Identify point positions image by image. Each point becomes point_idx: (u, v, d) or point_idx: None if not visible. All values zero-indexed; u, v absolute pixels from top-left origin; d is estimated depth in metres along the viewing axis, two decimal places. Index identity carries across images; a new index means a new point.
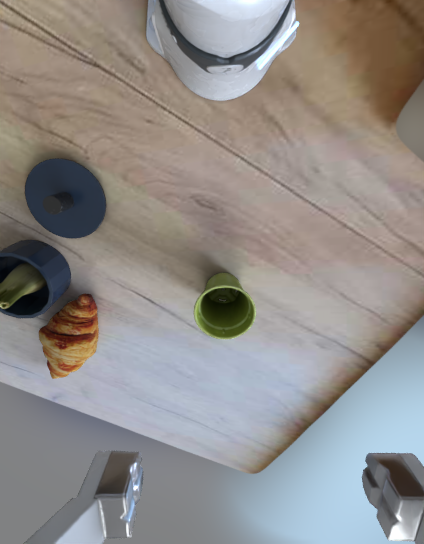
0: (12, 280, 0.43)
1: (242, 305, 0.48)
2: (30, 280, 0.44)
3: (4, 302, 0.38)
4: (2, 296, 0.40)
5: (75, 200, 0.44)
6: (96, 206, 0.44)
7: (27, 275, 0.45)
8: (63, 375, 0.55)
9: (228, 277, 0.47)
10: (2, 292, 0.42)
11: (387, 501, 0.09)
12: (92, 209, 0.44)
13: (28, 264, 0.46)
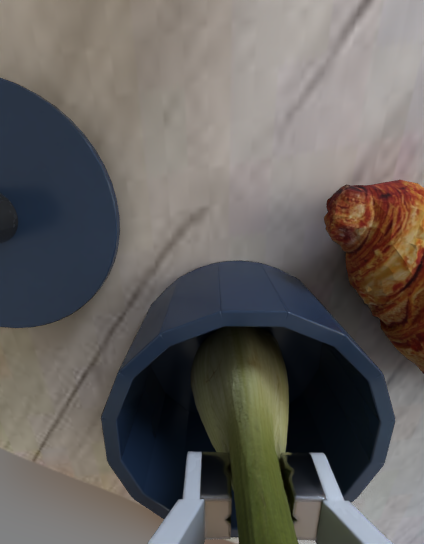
0: (218, 443, 0.11)
1: None
2: (226, 386, 0.11)
3: None
4: None
5: None
6: None
7: (212, 385, 0.12)
8: None
9: None
10: None
11: (289, 500, 0.09)
12: (3, 126, 0.12)
13: (192, 370, 0.14)
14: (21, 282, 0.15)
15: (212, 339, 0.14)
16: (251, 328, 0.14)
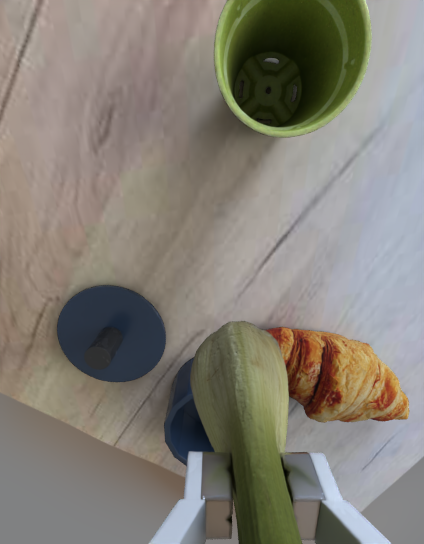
0: (218, 443, 0.11)
1: (298, 28, 0.21)
2: (229, 385, 0.11)
3: None
4: None
5: (109, 324, 0.31)
6: (116, 299, 0.30)
7: (213, 383, 0.12)
8: (404, 403, 0.31)
9: (232, 71, 0.23)
10: None
11: None
12: (120, 305, 0.31)
13: (193, 368, 0.14)
14: (121, 363, 0.33)
15: (214, 338, 0.14)
16: (253, 329, 0.14)
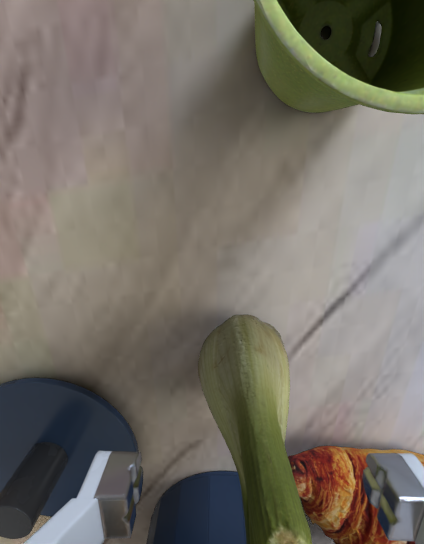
0: (224, 423, 0.12)
1: None
2: (235, 369, 0.12)
3: None
4: None
5: (44, 438, 0.19)
6: (52, 401, 0.18)
7: (220, 369, 0.13)
8: None
9: None
10: None
11: (387, 501, 0.09)
12: (61, 410, 0.18)
13: (200, 357, 0.15)
14: (68, 492, 0.20)
15: (220, 329, 0.15)
16: (257, 321, 0.15)
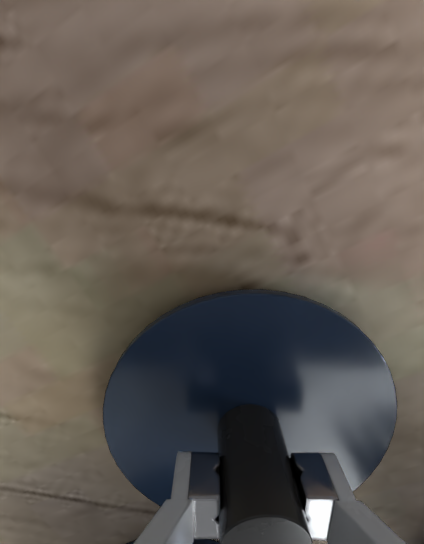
0: None
1: None
2: None
3: None
4: None
5: (285, 419, 0.12)
6: (364, 417, 0.12)
7: None
8: None
9: None
10: None
11: (301, 500, 0.09)
12: (349, 430, 0.12)
13: None
14: None
15: None
16: None
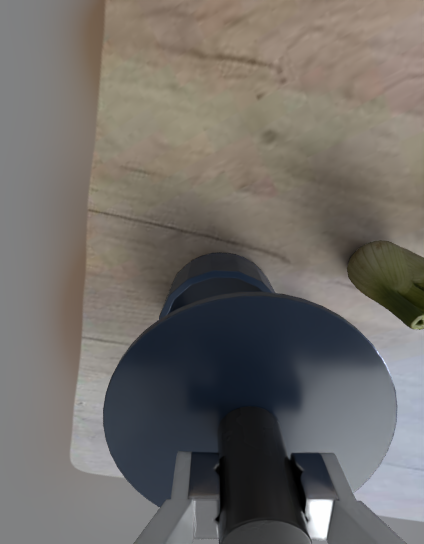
0: (400, 268, 0.24)
1: None
2: None
3: None
4: None
5: (285, 420, 0.12)
6: (364, 419, 0.12)
7: (409, 255, 0.25)
8: None
9: None
10: (416, 287, 0.22)
11: (301, 500, 0.09)
12: (349, 432, 0.12)
13: (385, 242, 0.27)
14: None
15: (399, 246, 0.27)
16: None
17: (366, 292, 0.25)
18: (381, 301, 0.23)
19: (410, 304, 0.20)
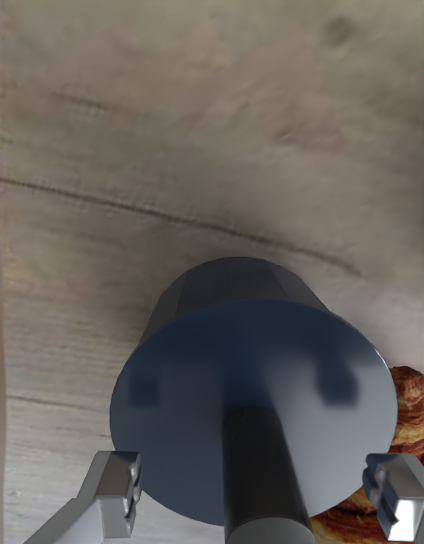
0: None
1: None
2: None
3: None
4: None
5: (287, 420, 0.12)
6: (365, 419, 0.12)
7: None
8: None
9: None
10: None
11: (387, 501, 0.09)
12: (351, 431, 0.12)
13: None
14: (185, 465, 0.13)
15: None
16: None
17: None
18: None
19: None
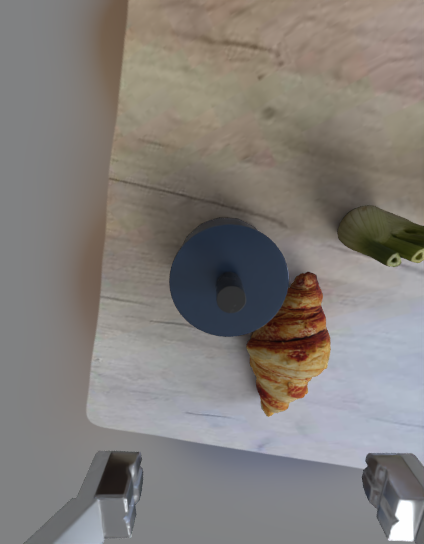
0: (382, 224, 0.28)
1: None
2: (405, 219, 0.28)
3: None
4: (418, 235, 0.24)
5: (243, 278, 0.29)
6: (275, 278, 0.29)
7: (390, 215, 0.29)
8: (286, 407, 0.38)
9: None
10: (393, 237, 0.26)
11: (387, 501, 0.09)
12: (270, 284, 0.29)
13: (370, 206, 0.31)
14: (200, 301, 0.29)
15: (383, 210, 0.31)
16: None
17: (352, 246, 0.29)
18: (364, 250, 0.27)
19: (387, 248, 0.24)
